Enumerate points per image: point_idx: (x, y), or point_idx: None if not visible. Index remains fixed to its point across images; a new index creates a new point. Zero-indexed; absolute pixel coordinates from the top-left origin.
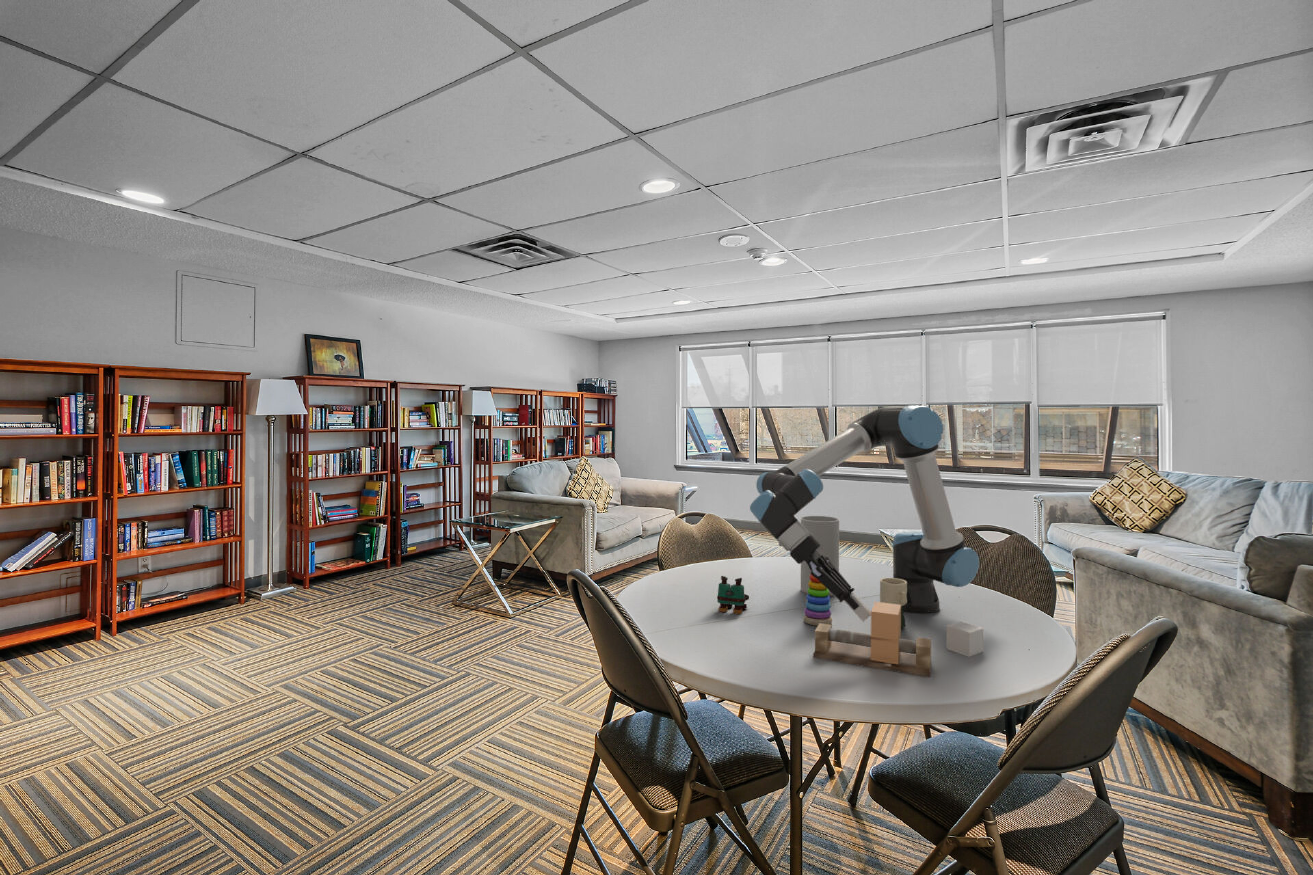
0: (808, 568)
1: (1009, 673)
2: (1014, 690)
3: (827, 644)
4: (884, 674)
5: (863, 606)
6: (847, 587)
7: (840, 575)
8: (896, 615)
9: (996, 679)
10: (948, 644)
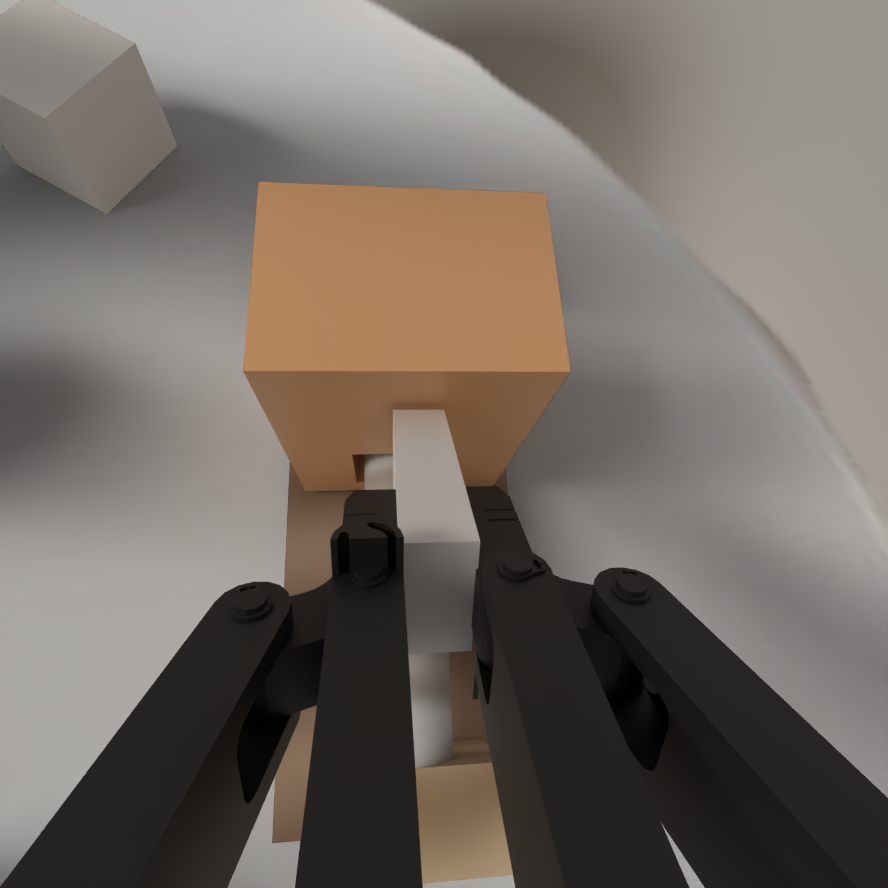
0: None
1: (308, 57)
2: (455, 65)
3: (483, 745)
4: (552, 429)
5: (453, 449)
6: (400, 610)
7: (136, 827)
8: (546, 209)
9: (386, 95)
10: (101, 191)
